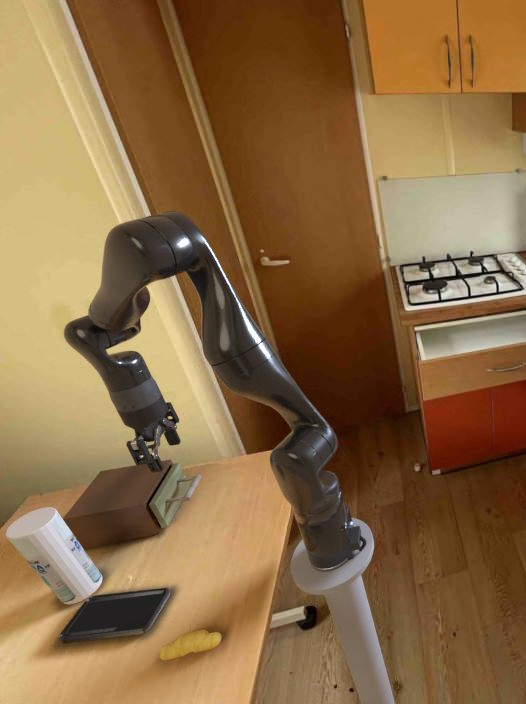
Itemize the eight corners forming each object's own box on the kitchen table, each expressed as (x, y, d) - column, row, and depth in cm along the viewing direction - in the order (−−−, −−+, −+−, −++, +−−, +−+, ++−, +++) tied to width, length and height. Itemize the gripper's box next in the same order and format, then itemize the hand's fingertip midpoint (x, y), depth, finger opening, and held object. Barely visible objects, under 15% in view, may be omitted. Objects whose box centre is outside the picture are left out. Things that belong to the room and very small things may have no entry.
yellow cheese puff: (226, 627, 78) (220, 622, 76) (221, 648, 76) (215, 643, 74) (168, 642, 76) (160, 637, 74) (161, 663, 74) (153, 659, 72)
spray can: (53, 595, 83) (-2, 529, 74) (94, 567, 89) (47, 501, 80) (69, 611, 81) (13, 544, 72) (110, 581, 86) (63, 515, 77)
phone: (88, 596, 82) (171, 587, 84) (91, 599, 83) (173, 590, 84) (54, 641, 75) (144, 630, 77) (57, 644, 76) (147, 634, 77)
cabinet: (184, 487, 107) (171, 459, 103) (159, 533, 96) (143, 504, 91) (117, 499, 104) (100, 470, 100) (83, 548, 92) (61, 519, 88)
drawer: (212, 481, 108) (201, 458, 104) (192, 522, 97) (180, 499, 94) (128, 496, 104) (114, 473, 100) (98, 540, 93) (81, 516, 90)
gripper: (141, 417, 82) (172, 477, 90) (174, 377, 95) (198, 432, 102) (96, 424, 81) (131, 484, 88) (135, 382, 93) (163, 438, 100)
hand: (167, 456), depth 95 cm, fingers open, 8 cm apart
